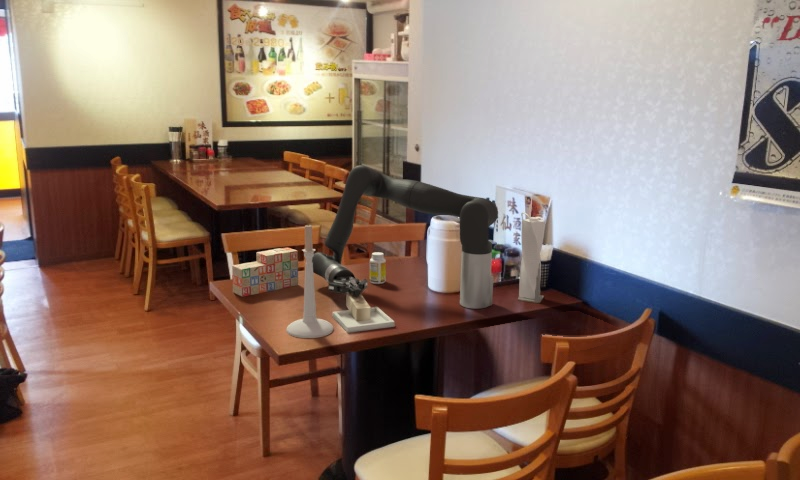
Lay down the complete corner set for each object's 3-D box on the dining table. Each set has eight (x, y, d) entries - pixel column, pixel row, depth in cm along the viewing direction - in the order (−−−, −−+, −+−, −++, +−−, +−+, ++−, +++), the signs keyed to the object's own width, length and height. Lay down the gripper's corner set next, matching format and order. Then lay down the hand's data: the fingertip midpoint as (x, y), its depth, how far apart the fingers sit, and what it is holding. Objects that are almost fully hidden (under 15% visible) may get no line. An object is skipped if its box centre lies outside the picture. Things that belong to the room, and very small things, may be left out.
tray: (377, 311, 204) (377, 306, 204) (394, 326, 191) (394, 321, 191) (332, 316, 199) (332, 311, 198) (347, 332, 186) (347, 327, 186)
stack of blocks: (242, 297, 216) (240, 260, 213) (232, 292, 220) (231, 256, 217) (298, 285, 230) (298, 250, 227) (288, 281, 234) (287, 246, 231)
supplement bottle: (384, 279, 237) (384, 251, 235) (386, 284, 232) (387, 255, 230) (368, 280, 236) (368, 251, 234) (370, 284, 231) (370, 255, 229)
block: (359, 292, 202) (370, 307, 194) (358, 303, 204) (369, 319, 195) (346, 293, 201) (357, 309, 192) (345, 305, 202) (356, 321, 194)
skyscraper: (513, 299, 217) (517, 214, 211) (518, 292, 225) (523, 209, 218) (539, 303, 214) (545, 216, 208) (544, 296, 222) (549, 212, 215)
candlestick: (335, 336, 183) (335, 228, 177) (287, 339, 181) (285, 229, 174) (330, 320, 195) (329, 218, 189) (285, 323, 193) (283, 220, 186)
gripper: (319, 268, 210) (335, 283, 195) (359, 264, 215) (378, 278, 200) (319, 291, 212) (335, 307, 196) (359, 287, 217) (378, 303, 201)
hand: (357, 293), depth 198 cm, fingers closed
